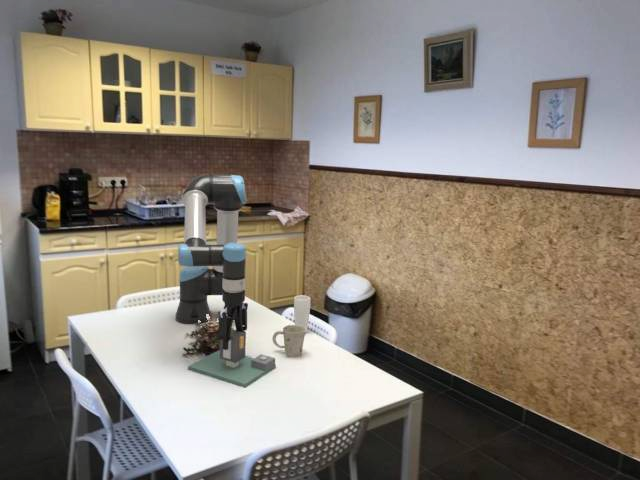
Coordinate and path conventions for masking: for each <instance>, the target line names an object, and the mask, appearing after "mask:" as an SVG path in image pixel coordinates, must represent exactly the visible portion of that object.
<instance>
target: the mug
mask: <svg viewBox="0 0 640 480" xmlns="http://www.w3.org/2000/svg"><path fill="white" fill-rule="evenodd" d="M278 335H283V343H284V345H280V344H279V343H278V342H277V339H276V338H277V336H278ZM305 336H306V333H305V328H304V327H303V326H299V325H295V324H290V325H286V326H285V325H284V326H283V328H282V330H277V331H275V332H274V333H273V335H272V339H271V340H272V342H273V345H275V346H276V347H277V348H279V349H284V354H285V355H286V356H287V357H289V358H298V357H300V356H301V355H302V353H303V346H304V341H305Z"/></svg>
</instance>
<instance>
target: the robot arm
mask: <svg viewBox="0 0 640 480" xmlns="http://www.w3.org/2000/svg"><path fill="white" fill-rule="evenodd" d="M182 203H183V205H184V235H183V236H184V240H183V241H184V243H183V244H179V245H178V247H177V248H178V249H177V262H178V265H179V266H181V267H183V268H182V269H181V270H180V271H179V279H178V281H179V303H178V306H177V309H176V312H175V321H176V322H178V323H182V324H187V325H198V324H197V323H198V320H200V321H201V323H200V324H204V323H206V320H207V318H206V314H209V316H210V317H211V318H212V312H211V310H210V306H209V303H208V296H221V297H222V302H223V303H224V306H223V309H222V310H221V311H220V310H219V311H218V312H217V315H218V330H217V331H218V334H217V336H218V337H217V339H218V340H219V341H220V340H223V357H224V358H228V359H231V340H229V339H230V334H231V329H232V328H233V322H234V325H235V330H237V331H241V332H244V333H246V334H247V330H248V307H249V306H248V305H249V304H248V302H245V300H246V290H245V289H246V264H247V263H246V262H247V261H246V258H247V251H246V250H247V249H246V248H247V247H246V246H245V244H243V243H238V233H239V231H238V230H239V229H238V228H239V226H238V225H239V212H240V211H241V210H242V209H243V205H245V204H247V194H246V187H245V180H244V178H243V176H241V175H235V174H209V173H204V174H200V175H198V176H195V177H194V178H193V179H191V181H189V182H188V184H187V185H186V186H185V188H184V190H183V192H182ZM208 204H213V209H215V210H216V211H217V212H216V213H217V217H216V220H217V221H216V222H217V223H216V244H207V233H206V231H207V230H206V229H207V226H206V223H207V222H206V221H207V220H206V218H207V217H206V206H208ZM208 267H212V268H208Z"/></svg>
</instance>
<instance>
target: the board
mask: <svg viewBox="0 0 640 480" xmlns="http://www.w3.org/2000/svg"><path fill="white" fill-rule="evenodd" d="M276 368H277V364H276V358H275V357H272V356H269V355H265V354H262V353H260V354H259V355H257V356H256V357H251V356H248V355H245V358H243V359H242V360H240V361H238V362H236V363H233V362H230V361H227V360H224V359H220V349H219V350H216V351H215V352H213V353H211V354H209V355H207V356H205V357H202V358H201V359H199V360H197V361H195V362H193V363H192V364H189V365H188V366H187V370H189V371H192V372H194V373H198V374H201V375H205V376H208V377H211V378H214V379H218V380H220V381H223V382H227V383H229V384H230V383H231V384H233V385H236V386H239V387H243V388H247V387H248V386H250V385H251V384H253V383H255V382H256V381H257V380H259V379H261V378H262V377H264V376H265V375H267V374H268V373H269V372H271V371H273V370H274V369H276Z"/></svg>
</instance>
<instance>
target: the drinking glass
mask: <svg viewBox="0 0 640 480" xmlns="http://www.w3.org/2000/svg"><path fill="white" fill-rule="evenodd" d="M293 311H294V312H293V313H294V325H299V326H303V327H304V328H305V334H306V333H308V329H309V320H310V319H309V318H310V313H311V312H310V311H311V297H310V296H308V295H304V294H303V295H302V294H301V295H295V296H294V300H293Z"/></svg>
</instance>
